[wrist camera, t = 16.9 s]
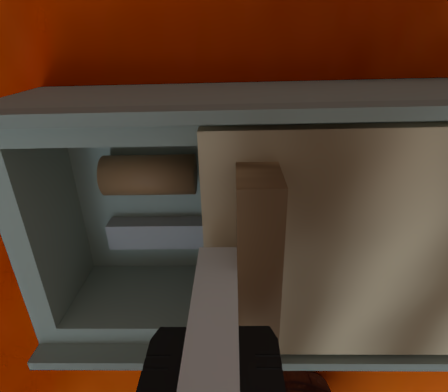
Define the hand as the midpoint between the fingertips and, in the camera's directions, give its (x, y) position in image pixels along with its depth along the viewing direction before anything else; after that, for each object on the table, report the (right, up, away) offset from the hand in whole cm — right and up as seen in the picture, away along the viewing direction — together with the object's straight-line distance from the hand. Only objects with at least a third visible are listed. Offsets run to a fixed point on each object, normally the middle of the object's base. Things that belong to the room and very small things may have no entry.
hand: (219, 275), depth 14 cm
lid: (+10, +1, +1) cm, 10 cm away
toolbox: (+1, +4, +8) cm, 8 cm away
